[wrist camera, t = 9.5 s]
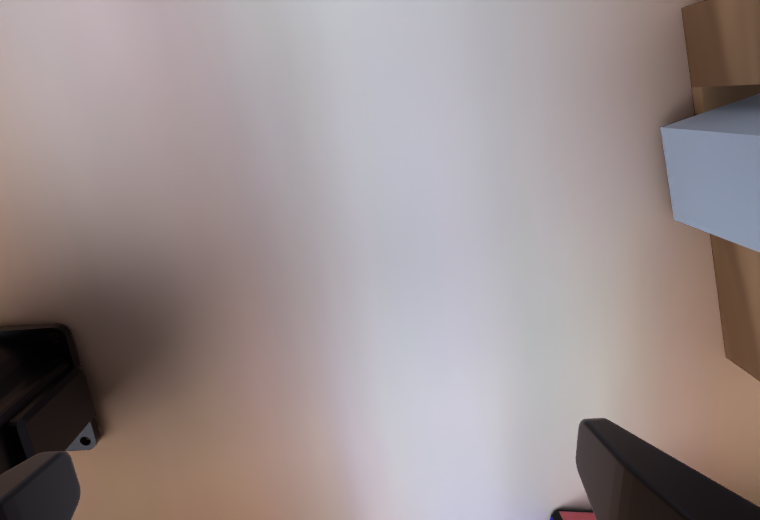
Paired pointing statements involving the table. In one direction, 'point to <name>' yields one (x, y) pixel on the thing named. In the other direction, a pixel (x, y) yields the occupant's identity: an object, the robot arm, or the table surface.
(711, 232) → the pale blue block
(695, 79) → the notched walnut block
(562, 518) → the puzzle cube
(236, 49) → the table surface
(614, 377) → the table surface
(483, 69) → the table surface
